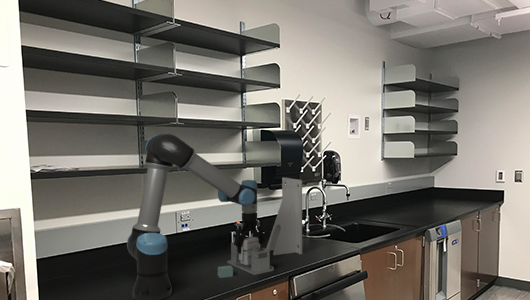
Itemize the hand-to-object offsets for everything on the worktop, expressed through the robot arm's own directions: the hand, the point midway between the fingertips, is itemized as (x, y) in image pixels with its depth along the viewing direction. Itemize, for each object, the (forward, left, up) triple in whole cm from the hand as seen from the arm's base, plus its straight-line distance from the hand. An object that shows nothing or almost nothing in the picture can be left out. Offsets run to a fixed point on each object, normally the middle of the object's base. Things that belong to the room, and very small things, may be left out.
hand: (249, 258), depth 203 cm
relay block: (-17, -5, -4) cm, 18 cm away
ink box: (0, 0, -2) cm, 2 cm away
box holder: (0, 0, -4) cm, 4 cm away
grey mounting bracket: (+30, +13, -4) cm, 33 cm away
